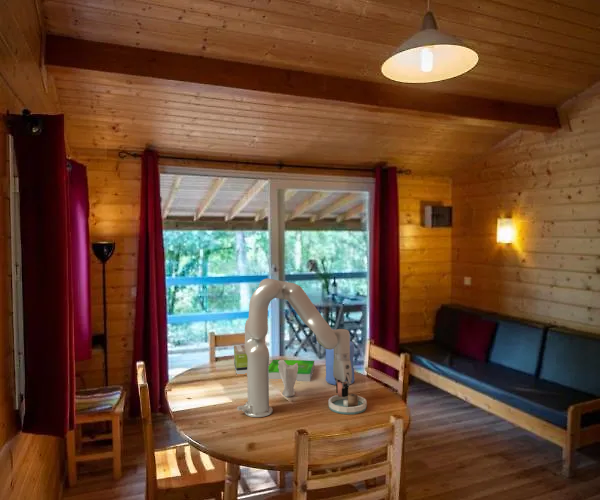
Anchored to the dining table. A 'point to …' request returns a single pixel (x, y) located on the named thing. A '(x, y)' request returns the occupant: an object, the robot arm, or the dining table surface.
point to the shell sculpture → (288, 377)
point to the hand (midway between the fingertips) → (342, 394)
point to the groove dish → (346, 405)
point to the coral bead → (340, 388)
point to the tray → (302, 375)
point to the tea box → (240, 359)
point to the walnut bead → (352, 400)
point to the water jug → (330, 362)
